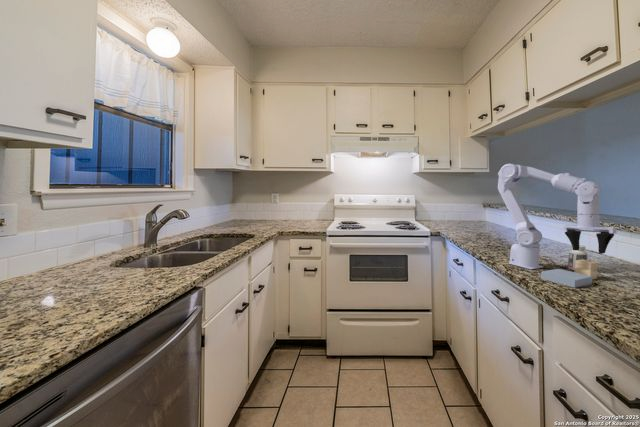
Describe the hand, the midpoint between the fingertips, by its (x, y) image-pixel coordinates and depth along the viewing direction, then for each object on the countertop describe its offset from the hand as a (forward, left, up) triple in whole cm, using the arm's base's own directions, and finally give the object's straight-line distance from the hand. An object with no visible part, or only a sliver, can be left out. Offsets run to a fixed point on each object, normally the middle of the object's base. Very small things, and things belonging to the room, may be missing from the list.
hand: (588, 251), depth 99 cm
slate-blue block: (0, -12, -10) cm, 16 cm away
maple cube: (0, 0, -10) cm, 10 cm away
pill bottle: (-7, +9, -10) cm, 15 cm away
